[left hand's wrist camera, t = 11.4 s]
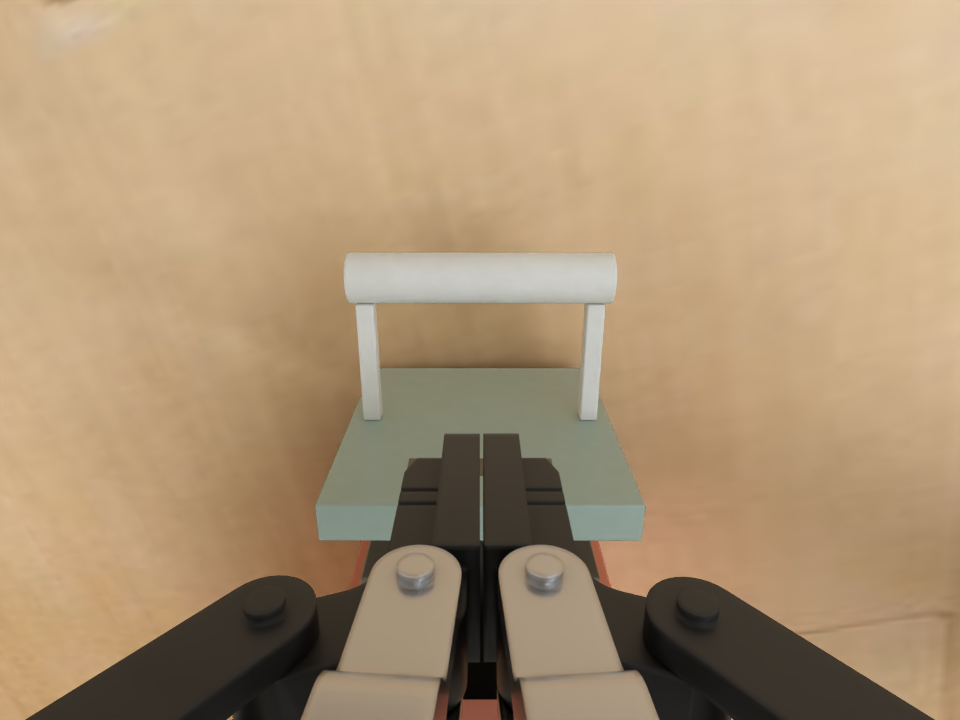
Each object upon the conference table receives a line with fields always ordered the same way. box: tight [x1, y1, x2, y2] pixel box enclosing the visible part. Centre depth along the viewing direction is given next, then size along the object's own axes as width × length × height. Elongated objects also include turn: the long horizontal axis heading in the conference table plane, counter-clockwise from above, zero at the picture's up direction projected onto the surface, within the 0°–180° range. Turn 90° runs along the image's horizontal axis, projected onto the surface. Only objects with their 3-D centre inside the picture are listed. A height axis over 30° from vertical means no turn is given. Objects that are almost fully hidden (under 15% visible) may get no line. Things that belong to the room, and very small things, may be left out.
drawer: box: [315, 252, 645, 699], centre depth 24 cm, size 25×9×10 cm, turn 0°
